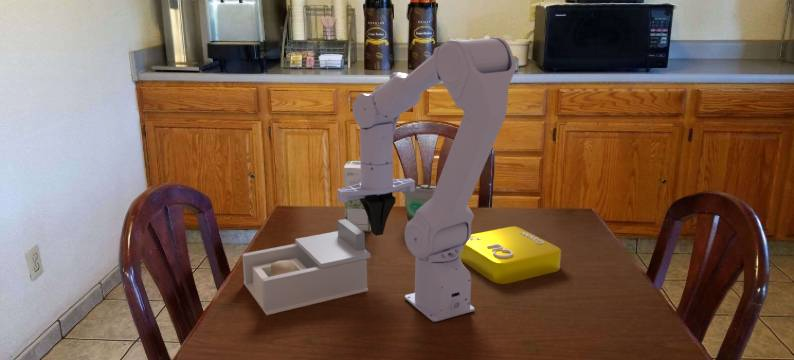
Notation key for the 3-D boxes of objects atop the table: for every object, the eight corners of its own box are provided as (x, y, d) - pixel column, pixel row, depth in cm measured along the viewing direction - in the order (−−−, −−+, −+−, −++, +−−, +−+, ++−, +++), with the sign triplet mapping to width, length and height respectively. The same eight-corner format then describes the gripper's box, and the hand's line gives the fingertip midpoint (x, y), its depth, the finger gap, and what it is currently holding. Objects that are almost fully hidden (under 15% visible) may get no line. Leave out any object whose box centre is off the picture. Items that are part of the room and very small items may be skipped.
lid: (370, 257, 108) (370, 237, 107) (321, 268, 104) (320, 246, 103) (341, 234, 119) (340, 215, 118) (295, 243, 115) (294, 223, 114)
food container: (394, 231, 137) (394, 187, 134) (402, 222, 142) (402, 179, 140) (450, 237, 133) (451, 192, 130) (456, 227, 139) (457, 184, 136)
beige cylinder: (298, 291, 108) (298, 267, 107) (276, 296, 106) (274, 272, 105) (291, 282, 111) (290, 258, 110) (268, 286, 110) (267, 263, 108)
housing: (367, 290, 110) (367, 259, 108) (266, 315, 101) (264, 282, 100) (337, 263, 120) (336, 235, 119) (243, 283, 112) (241, 253, 110)
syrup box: (374, 223, 142) (373, 160, 137) (370, 232, 136) (370, 167, 132) (349, 222, 142) (347, 159, 138) (344, 231, 136) (342, 166, 132)
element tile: (564, 271, 118) (566, 247, 117) (498, 287, 112) (499, 262, 110) (514, 244, 131) (516, 222, 130) (453, 257, 125) (453, 234, 123)
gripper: (401, 151, 118) (401, 220, 122) (329, 160, 111) (331, 233, 115) (421, 159, 112) (420, 231, 116) (346, 170, 105) (347, 246, 109)
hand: (377, 233), depth 115 cm, fingers closed
